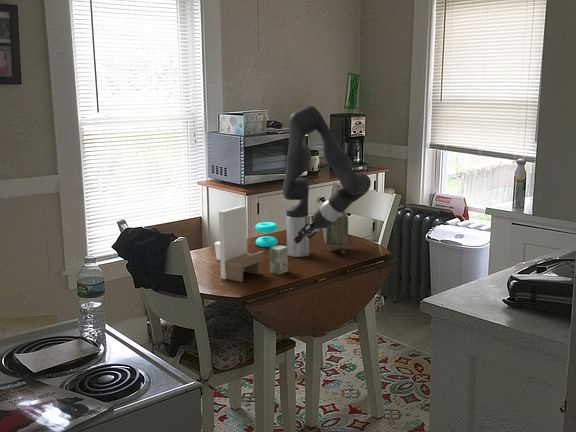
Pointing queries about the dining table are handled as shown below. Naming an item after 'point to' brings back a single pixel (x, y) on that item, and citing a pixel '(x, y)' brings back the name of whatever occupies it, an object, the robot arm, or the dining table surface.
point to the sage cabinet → (278, 259)
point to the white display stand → (236, 245)
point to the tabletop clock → (337, 232)
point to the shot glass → (217, 249)
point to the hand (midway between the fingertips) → (302, 239)
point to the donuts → (266, 240)
